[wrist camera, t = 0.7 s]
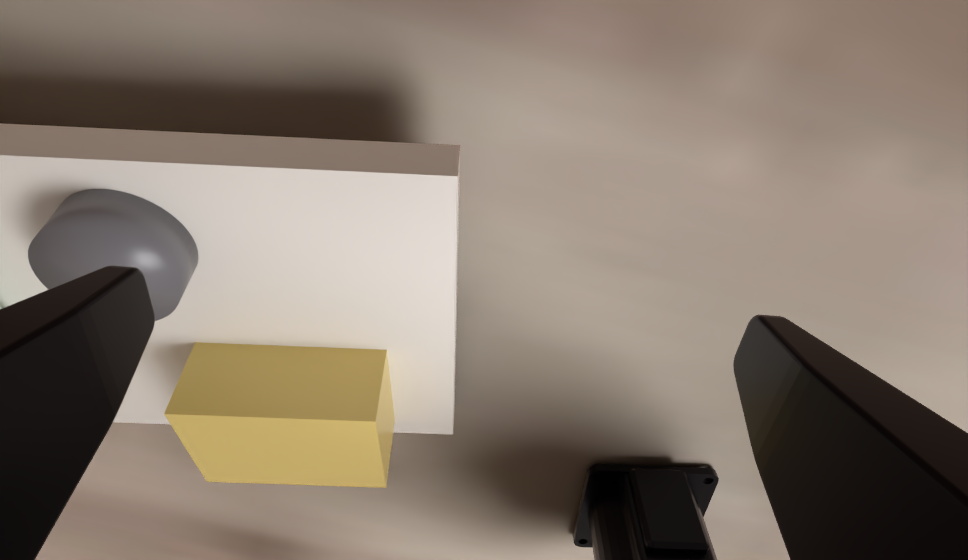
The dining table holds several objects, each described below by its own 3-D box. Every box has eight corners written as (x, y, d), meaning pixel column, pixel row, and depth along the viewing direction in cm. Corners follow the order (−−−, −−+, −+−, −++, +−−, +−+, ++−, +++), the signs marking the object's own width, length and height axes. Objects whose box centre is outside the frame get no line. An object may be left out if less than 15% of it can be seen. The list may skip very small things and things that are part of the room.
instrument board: (454, 405, 28) (449, 500, 25) (11, 388, 27) (-52, 484, 24) (460, 145, 18) (452, 252, 14) (-245, 111, 17) (-410, 214, 14)
